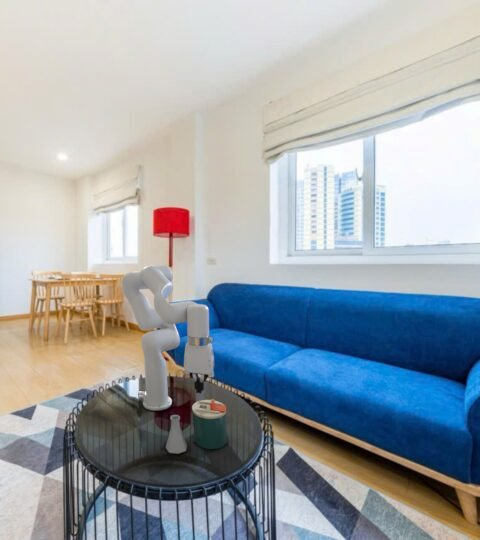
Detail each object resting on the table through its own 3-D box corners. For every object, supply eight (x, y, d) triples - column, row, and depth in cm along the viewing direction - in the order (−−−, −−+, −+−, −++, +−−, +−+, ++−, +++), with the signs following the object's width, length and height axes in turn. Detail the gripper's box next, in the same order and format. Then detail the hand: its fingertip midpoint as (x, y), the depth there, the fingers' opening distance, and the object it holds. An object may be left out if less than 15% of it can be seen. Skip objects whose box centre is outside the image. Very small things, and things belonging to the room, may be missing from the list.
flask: (164, 441, 98) (163, 412, 98) (185, 439, 98) (184, 410, 98) (166, 455, 91) (165, 424, 90) (189, 453, 91) (188, 422, 91)
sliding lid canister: (190, 446, 95) (188, 412, 94) (197, 427, 105) (195, 396, 105) (225, 452, 91) (223, 416, 91) (229, 431, 102) (227, 400, 101)
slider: (210, 410, 96) (210, 404, 96) (212, 404, 100) (212, 398, 100) (225, 412, 94) (224, 406, 94) (226, 406, 98) (226, 400, 98)
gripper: (221, 338, 101) (222, 389, 102) (180, 335, 106) (181, 384, 107) (218, 345, 94) (219, 399, 95) (174, 341, 99) (176, 393, 100)
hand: (199, 391), depth 101 cm, fingers closed
